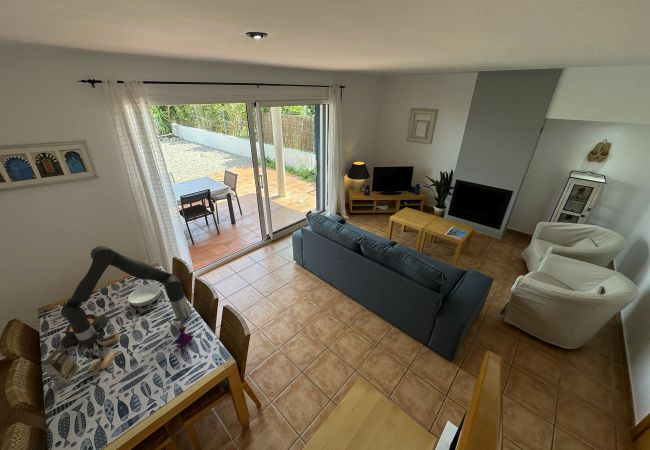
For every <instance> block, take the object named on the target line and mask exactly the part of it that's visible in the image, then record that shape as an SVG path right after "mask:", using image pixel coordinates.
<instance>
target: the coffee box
mask: <svg viewBox="0 0 650 450" xmlns="http://www.w3.org/2000/svg"><path fill="white" fill-rule="evenodd" d="M40 366H41V367H42V369H43V370H44V372H45V373H46V374H47V375H48V376H49V377H50V379H51V380H52V381H53V383H54V384H56V385H58V384H66V383H68V382H69V381H70V379H72V378H73V376H74V375H75V373H77V371H78V370H79V369H80V366H79V364H78V363H77V361H76V360H75V359H74V358H73V355H72V354H71V353H70V352H69V350H68V349H67V348H66V349H64V348H63V349H55V350H53V352H52V353H51V354H50V355H49V356H48V357H47V358H46V359H45V360H44V361H43V362H42V363H41V364H40Z"/></svg>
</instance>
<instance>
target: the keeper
mask: <svg viewBox="0 0 650 450" xmlns="http://www.w3.org/2000/svg"><path fill="white" fill-rule="evenodd" d="M97 354H100V353H97ZM117 355H118V351H117V350H112V351H111V350H110V351H109V352H108V354H107V355H106V357H105V358H103V359H96V360H92V362H91V363H90V365H89V367H88V368H87V370H88V371H95V370H102V369H109V367H111V364H112V363H113V361H114V360H115V357H116V356H117Z"/></svg>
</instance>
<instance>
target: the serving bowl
mask: <svg viewBox="0 0 650 450" xmlns="http://www.w3.org/2000/svg"><path fill="white" fill-rule="evenodd" d="M161 292H162V288H161V286H160V285H159V284H157V283H149V284H144V285H142V286H139V287H138V288H136V289H134V290H133V291H131V293H130V294H129V296H128V297H127V301H128V302H129V304H131V305H132V306H135V307H144V306H148V305H150V304H152V303H154V302H155V301H156V300H157V299H158V298H159V297H160V295H161Z"/></svg>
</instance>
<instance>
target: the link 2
mask: <svg viewBox="0 0 650 450" xmlns="http://www.w3.org/2000/svg"><path fill="white" fill-rule="evenodd" d="M118 333H119V332H114V333H112V334H109V335H108V336H103V338H104V341H103V342H102V343H103V344H102V345H103V346H104V347H109V346H111V345H113V344H116V343H119V342H120V334H118Z"/></svg>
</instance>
